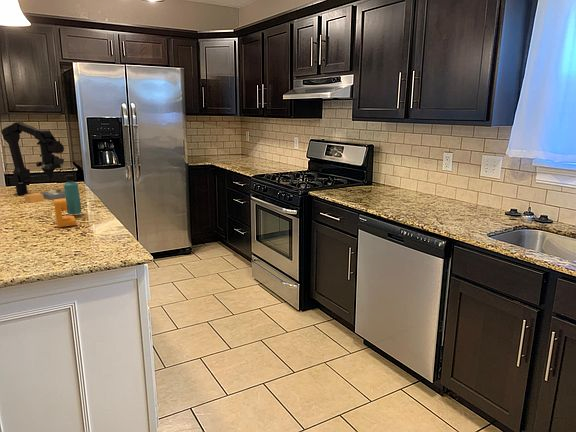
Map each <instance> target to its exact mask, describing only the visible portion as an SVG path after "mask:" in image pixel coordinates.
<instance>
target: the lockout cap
mask: <svg viewBox="0 0 576 432" xmlns="http://www.w3.org/2000/svg"><path fill="white" fill-rule="evenodd" d="M24 201H25V202H27V203H29V204H31V203H39V202H44V201H45V198H44V197H43V194H40V192H35V193H34V192H33V193H30V194H26V195H24Z"/></svg>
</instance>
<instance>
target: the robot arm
mask: <svg viewBox="0 0 576 432" xmlns="http://www.w3.org/2000/svg"><path fill="white" fill-rule="evenodd" d="M22 133H25V134H28V135H31V136H33V137H34V139H36V140H38V142H37V143H36V145H37V146H39V147H40V148H39V150H40V154H39V157H41V161H37V162H36V163H35V165H36V167H38V168H39V167H41V170H42V171H43V173H44V174H45V176H46V177H47V178H48V180H49V181H52V180H53V175H54V172H55V170H56V169H62V165H64V162H65V158H61V157H59V156H58V155H55V154H62V153H64V151H65V146H64V145H63V144H62V143H61V141H60V140H57V139H56V138H55V136H54V135H53V133H52V132H51V131H50V130H48V129H43V128H42V129H41V128H36V127H34V126H32V125H29V124H27V123H24V122H23V121H17V122H14V123H12V124H11V125H8V126H5V127H4V128H3V129H2V130H1V135H2V137H3V138H2V139H3V140H4V141H5V142H6V143H7V144H8V146H9V147H8V148H9V151H10V154H11V155H10V156H11V158H12V162H13V166H14V169H13V172H12V174H13V175H12V176H13V177H12V179H11V181H10V184H11V186H14V187H15V190H16V193H14V195H16V196H18V197H20V196H25V195H26V194H31V193H30V192H29V191H28V186H27V184H30V183H31V179H32V178H31V176H32V174H31V170H30V169H29V168H26V167H25V164H24V160H23V156H22V152H21V148H20V144H19V142H20V139H21V135H20V134H22Z"/></svg>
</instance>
